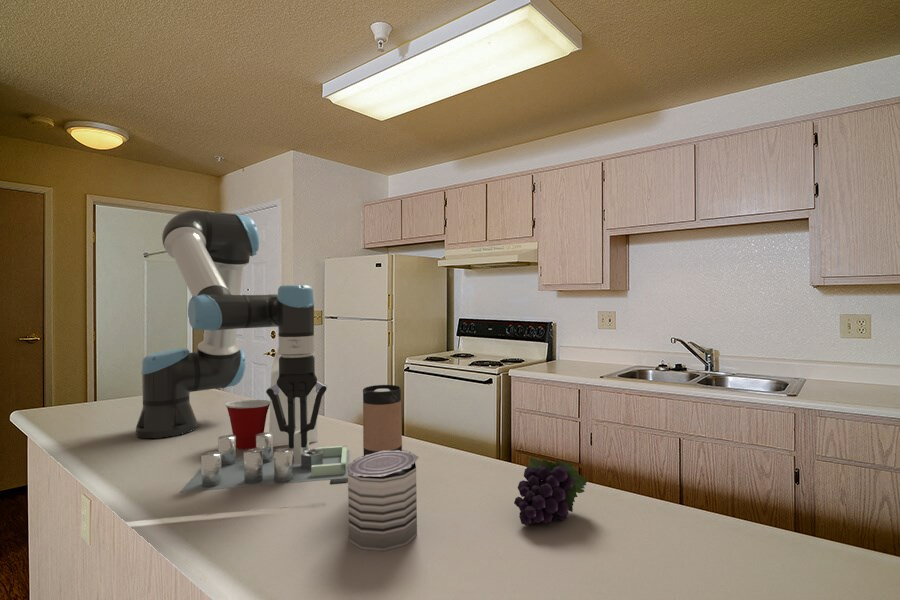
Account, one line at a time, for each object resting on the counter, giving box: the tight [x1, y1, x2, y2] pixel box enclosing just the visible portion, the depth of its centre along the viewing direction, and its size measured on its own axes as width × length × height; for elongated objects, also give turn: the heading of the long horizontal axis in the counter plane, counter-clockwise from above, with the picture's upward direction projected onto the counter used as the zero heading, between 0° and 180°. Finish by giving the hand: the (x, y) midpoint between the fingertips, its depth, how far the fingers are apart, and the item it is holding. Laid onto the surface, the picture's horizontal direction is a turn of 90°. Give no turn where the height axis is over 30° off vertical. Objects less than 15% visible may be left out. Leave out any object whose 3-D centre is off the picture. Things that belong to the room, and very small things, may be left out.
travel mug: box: [362, 384, 403, 456], centre depth 95 cm, size 8×8×20 cm
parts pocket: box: [311, 445, 348, 477], centre depth 107 cm, size 13×7×2 cm, turn 11°
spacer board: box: [179, 449, 350, 493], centre depth 104 cm, size 18×32×1 cm, turn 101°
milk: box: [268, 346, 319, 447], centre depth 127 cm, size 12×12×26 cm
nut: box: [301, 448, 323, 470], centre depth 106 cm, size 5×4×3 cm
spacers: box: [200, 429, 310, 487], centre depth 104 cm, size 18×20×6 cm
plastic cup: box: [224, 399, 270, 451], centre depth 121 cm, size 11×11×12 cm
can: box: [345, 449, 420, 552], centre depth 77 cm, size 11×11×12 cm
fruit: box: [513, 457, 589, 526], centre depth 82 cm, size 10×10×15 cm
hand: (298, 461), depth 105 cm, fingers closed
